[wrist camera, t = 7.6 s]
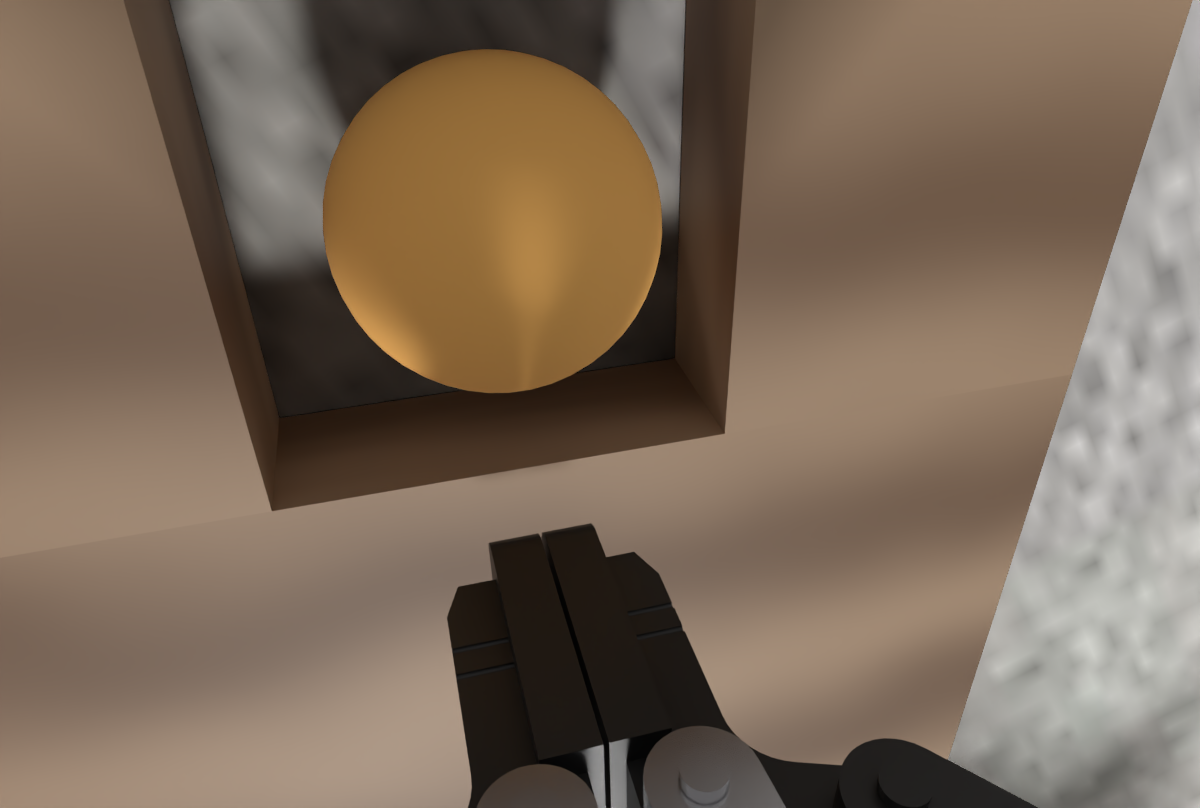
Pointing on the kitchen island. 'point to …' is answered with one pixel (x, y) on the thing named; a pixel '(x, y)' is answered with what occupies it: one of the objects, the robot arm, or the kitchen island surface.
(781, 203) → the hole board
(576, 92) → the ball
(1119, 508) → the kitchen island surface
